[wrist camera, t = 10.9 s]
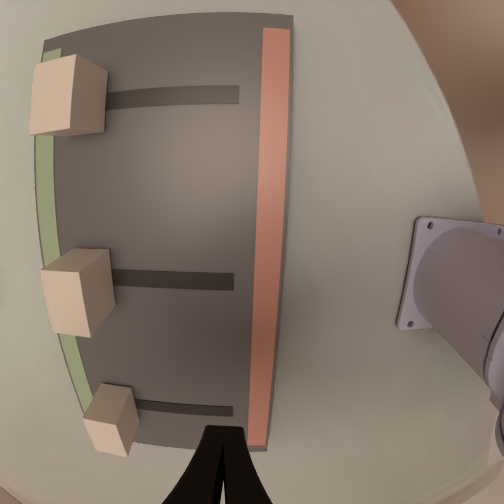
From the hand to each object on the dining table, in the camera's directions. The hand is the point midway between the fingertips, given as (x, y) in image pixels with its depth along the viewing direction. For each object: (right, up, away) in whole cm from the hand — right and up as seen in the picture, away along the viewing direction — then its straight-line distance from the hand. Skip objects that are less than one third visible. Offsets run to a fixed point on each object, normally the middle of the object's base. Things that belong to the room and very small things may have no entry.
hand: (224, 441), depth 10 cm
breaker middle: (-8, +6, +7) cm, 12 cm away
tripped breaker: (-8, +15, +4) cm, 18 cm away
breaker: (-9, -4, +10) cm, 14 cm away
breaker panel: (-5, +6, +8) cm, 12 cm away
